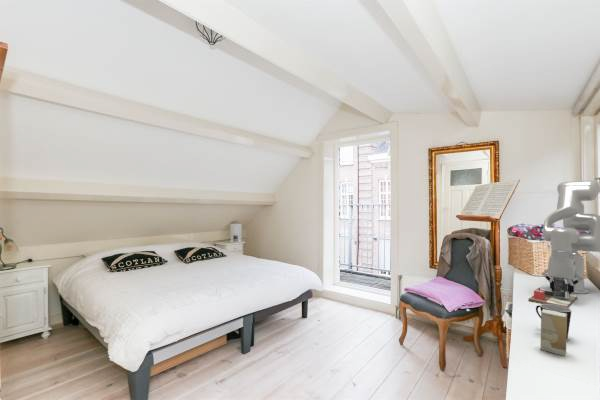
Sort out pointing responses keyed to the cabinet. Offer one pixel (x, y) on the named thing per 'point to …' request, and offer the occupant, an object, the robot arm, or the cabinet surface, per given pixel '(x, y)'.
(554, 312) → the skincare box
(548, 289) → the dome
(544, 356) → the cabinet surface
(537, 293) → the red die
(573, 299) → the game board
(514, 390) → the cabinet surface
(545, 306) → the coffee mug
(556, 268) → the robot arm
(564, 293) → the pill bottle
